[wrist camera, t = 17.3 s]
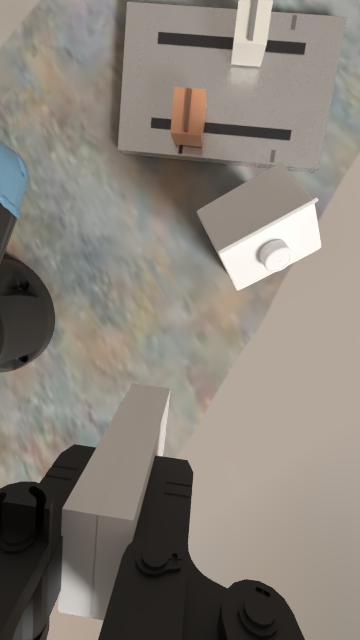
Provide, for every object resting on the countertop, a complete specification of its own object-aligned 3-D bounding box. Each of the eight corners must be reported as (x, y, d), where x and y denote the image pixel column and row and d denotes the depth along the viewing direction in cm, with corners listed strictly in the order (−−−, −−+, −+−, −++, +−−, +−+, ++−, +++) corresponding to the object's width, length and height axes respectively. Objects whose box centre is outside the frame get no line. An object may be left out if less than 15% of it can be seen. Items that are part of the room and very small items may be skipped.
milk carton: (201, 222, 41) (193, 204, 23) (255, 191, 40) (294, 146, 21) (228, 275, 42) (242, 299, 24) (282, 246, 41) (341, 249, 22)
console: (122, 154, 40) (117, 149, 38) (131, 14, 37) (126, 0, 35) (313, 172, 39) (318, 168, 37) (339, 29, 36) (347, 16, 34)
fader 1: (174, 144, 37) (169, 131, 33) (178, 103, 36) (174, 85, 32) (201, 146, 37) (200, 134, 33) (206, 105, 36) (206, 87, 32)
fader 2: (231, 64, 35) (233, 40, 31) (236, 19, 34) (240, -13, 30) (260, 66, 35) (267, 42, 31) (266, 21, 34) (274, -10, 30)
